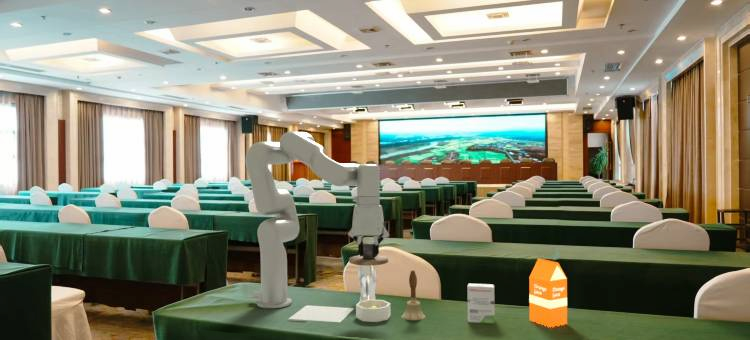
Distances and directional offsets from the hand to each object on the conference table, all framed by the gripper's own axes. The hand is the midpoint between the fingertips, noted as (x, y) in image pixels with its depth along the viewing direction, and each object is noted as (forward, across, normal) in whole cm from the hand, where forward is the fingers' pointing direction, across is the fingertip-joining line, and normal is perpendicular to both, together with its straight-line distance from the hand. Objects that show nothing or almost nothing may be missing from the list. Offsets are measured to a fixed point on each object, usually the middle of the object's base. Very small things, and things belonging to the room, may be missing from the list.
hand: (368, 255), depth 172 cm
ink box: (+21, +37, +5) cm, 42 cm away
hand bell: (+21, +15, +3) cm, 26 cm away
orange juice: (+21, +58, +8) cm, 62 cm away
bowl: (+21, +2, 0) cm, 21 cm away
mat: (+21, -16, 0) cm, 27 cm away
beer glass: (+21, -5, +19) cm, 29 cm away
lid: (+2, 0, 0) cm, 2 cm away
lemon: (+20, +2, 0) cm, 20 cm away
